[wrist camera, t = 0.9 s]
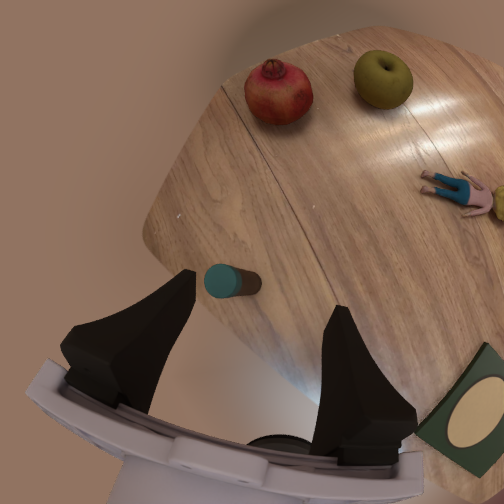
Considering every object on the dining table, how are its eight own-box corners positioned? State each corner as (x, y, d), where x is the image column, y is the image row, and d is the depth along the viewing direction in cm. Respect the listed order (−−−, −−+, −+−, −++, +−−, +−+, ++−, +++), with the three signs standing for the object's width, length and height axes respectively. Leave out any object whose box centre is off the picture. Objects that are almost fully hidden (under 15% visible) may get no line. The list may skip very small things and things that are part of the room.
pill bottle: (258, 298, 31) (231, 303, 21) (235, 291, 31) (199, 292, 22) (265, 275, 31) (240, 269, 21) (242, 268, 32) (209, 259, 22)
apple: (361, 122, 30) (367, 87, 24) (344, 78, 32) (345, 43, 25) (413, 119, 29) (427, 87, 22) (392, 76, 30) (400, 42, 23)
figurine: (417, 209, 28) (510, 234, 24) (428, 197, 24) (527, 227, 20) (419, 165, 29) (508, 192, 24) (428, 148, 25) (524, 181, 20)
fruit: (275, 82, 34) (260, 32, 24) (325, 104, 32) (324, 51, 22) (241, 122, 34) (216, 74, 24) (293, 148, 32) (282, 99, 22)
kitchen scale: (535, 404, 18) (538, 406, 17) (477, 475, 19) (480, 478, 18) (484, 341, 24) (488, 343, 22) (413, 431, 24) (415, 435, 23)
